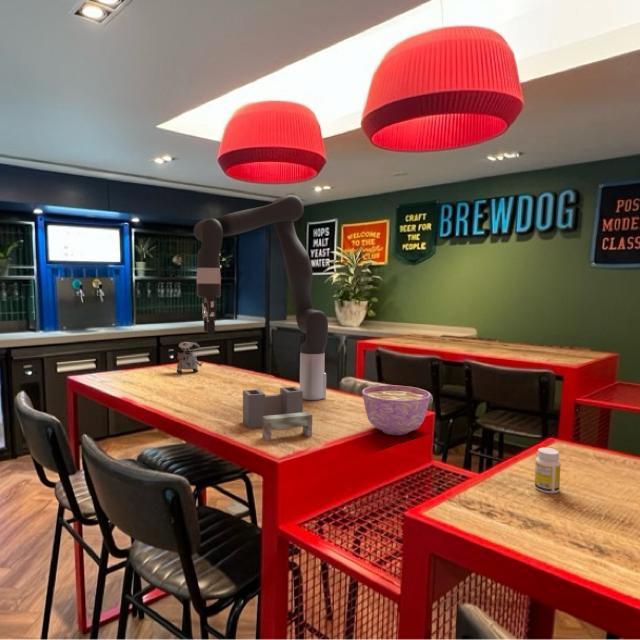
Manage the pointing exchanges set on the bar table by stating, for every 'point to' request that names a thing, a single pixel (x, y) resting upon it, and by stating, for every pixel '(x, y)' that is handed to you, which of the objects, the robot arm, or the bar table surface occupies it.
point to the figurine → (188, 357)
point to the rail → (286, 423)
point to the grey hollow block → (270, 404)
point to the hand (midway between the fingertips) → (209, 332)
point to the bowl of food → (395, 407)
